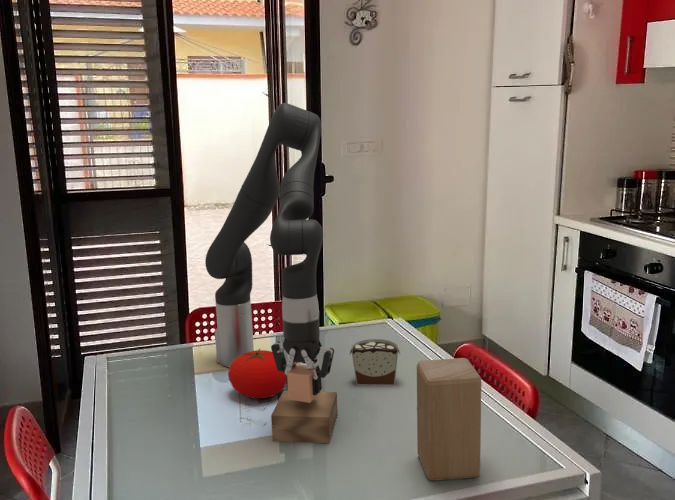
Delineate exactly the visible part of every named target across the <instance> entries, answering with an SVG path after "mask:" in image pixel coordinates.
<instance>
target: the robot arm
mask: <svg viewBox="0 0 675 500" xmlns="http://www.w3.org/2000/svg"><path fill="white" fill-rule="evenodd" d="M321 132H322V122H321V118H320V116H319V115H318V114H316V113H314V112H312V111H309V110H307V109H304V108H301V107H300V106H299V107H298V106H296V105H293V104H291V103H286V102H282V103H280V104H279V105H278V106H277V107H276V109H275V110H274V113H273V114H272V116H271V119H270V121H269V124H268V125H267V129H266V132H265V134H264V136H263V139H262V142H261V145H260V146H259V150H258V152H257V155H256V157H255V159H254V161H253V164H252V165H251V167H250V169H249V171H248V173H247V175H246V177H245V179H244V181H243V183H242V185H241V187H240V189H239V191H238V194H237V195H236V198H235V200H234V202H233V205H232V207H231V209H230V211H229V213H228V215H227V217H226V219H225V221H224V223H223V225H222V227H221V229H220V230H219V232H218V233H217V235H216V237H214V240H212V243H211V244H210V246H209V248H208V250H207V251H206V255H205V260H204V261H205V268H206V272H207V273H208V275H209V276H210V277H211V278H213V279H216V280H224V282H223V283H222V285H221V286H220V287H218V288H217V290H216V291H215V294H214V298H215V312H216V323H217V328H215V329H214V339H215V349H216V350H215V351H216V363H217V364H220V365H222V366H223V367H227V368H229V367H230V365H231V364H232V362H233V361H234V360H235V359H236V358H237V357H239V356H241V355H243V353H248V352H251V351H255V349H254V348H255V347H254V334H253V333H254V332H253V317H252V304H251V301H252V300H251V294H252V290H253V259H252V253H251V251H250V248H249V246H248V244H247V243H246V241H247V240H248V238H249V237H250V236H251V235H252V234H253V233H255V232H256V231H257V230H258V229H259V228H260V227H261V226H262V225H263V224H264V223H265V222H266V220H268V219H269V216H270V215H271V213H272V211H273V209H274V208H275V205H276V204H277V201H278V200H279V199H280V200H279V209H278V211H277V212H278V213H277V216H276V217H275V220H274V222H273V224H272V228H271V231H270V234H269V235H270V236H269V243H270V246H271V248H272V249H271V250H273V252H274V253H276V254H277V255H279V256H298V255H299V256H301V255H305V256H306V257H305V258H304V259H303V260H302V261H300V262H298V263H295V264H294V263H293V264H291V265H287V266H285V267H284V268H283V269H282V270H281V287H282V288H281V289H282V290H281V291H282V301H281V311H282V312H281V313H282V314H281V315H282V329H283V330H282V332H283V338H284V340H283V341H282V342H281V341H280V340H279V341H278V340H277V341H276V342H275V343H273V344H272V345H271V346H270V348H271V352H272V353H273V356H274V360H275V363H276V367H277V370H278V371H279V372H281V371H282V372H284V373H285V374H286V388H287V389H288V380H287V372H289V371H290V370H292V368H293V367H295V366H296V365H297V364H303V365H307V368H308V370H310V372H311V373H312V377H313V379H312V387H313V395H317V394H318V393H319V392H322V389H323V385H322V379H323V378H326V376H327V375H329V374H330V373H331V369H332V364H333V359H334V354H335V349H334V348H333V347H329V348H327V347H324V346H322V343H321V341H320V334H321V333H320V331H321V330H320V310H319V300H318V293H317V267H318V260H319V256H320V252H321V248H322V245H323V239H324V230H323V227H322V226H321V224H320V223H319V221H317V220H316V219H312V218H311V219H309V218H310V217H311V216H312V215H313V214H314V208H315V205H314V204H315V202H314V193H315V192H314V181H315V171H316V166H317V159H318V155H319V148H320V147H319V146H320V142H321V141H320V140H321V134H322V133H321ZM280 145H282V146H285V147H288V148H290V149H294V150H296V151H300V152H301V156H300V158H298V160H297V161H296V162H294V164H293V165H292V166H291V167H290V168H289V169H288V170H287V171H286V172H285V173H284V175H283V176H282V179H281V181H279V177H278V172H277V166H276V153H277V150H278V147H279V146H280ZM279 197H280V198H279ZM284 352H286V354H287V355H288V357H287V359H286V355H285V353H284ZM319 354H321V359H322V364H320V363H321V362H320V359H319V356H318V355H319Z"/></svg>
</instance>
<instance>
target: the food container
mask: <svg viewBox="0 0 675 500" xmlns="http://www.w3.org/2000/svg"><path fill="white" fill-rule="evenodd" d="M400 352H401V351H400V348H399V346H398V344H397V343H396V342H394V341H392V340H389V339H382V338H368V339H362V340H359V341H356V342H354V343H353V344H351V348H350V350H349V355H351V356H352V363H353V364H352V365H353V369H354V371H353V372H354V376H355V383H356V386H373V385H374V386H376V387H377V386H378V387H379V386H380V387H381V386H384V387H385V386H386V387H387V386H389V387H390V386H392V387H395V386H396V378H397V377H396V376H397V367H398V365H397V364H398V356H399V355H401V353H400ZM398 354H399V355H398Z"/></svg>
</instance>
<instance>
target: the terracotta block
mask: <svg viewBox="0 0 675 500" xmlns="http://www.w3.org/2000/svg"><path fill="white" fill-rule="evenodd" d="M312 379H313V377H312V373H311V372H310V370H308V368H307V365H306V364H303V363H297V364H296V366H295V367H293V368H292V370H290V371H289V372H287V380H288V388H287V391H288V398H289V400H295V401H302V402H308V403H310V402H311V401H312V400H313V399H314V398H315V397H316V396H317V395H318V394H319V393H320V392H321V391H320V392H319V393H318V394H317V395H313V387H312Z"/></svg>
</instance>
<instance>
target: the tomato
mask: <svg viewBox="0 0 675 500" xmlns="http://www.w3.org/2000/svg"><path fill="white" fill-rule="evenodd" d="M228 380H229V383H230V385H231V387H232V388H233V389H234V390H235V391H236V392H237V393H239V394H241V395H243V396H244V397H248V398H251V399H258V400H259V399H267V398H270V397H273V396H275V395H277V394H279V393H280V392H281V391H282V390H283V389H284V388H285V386H286V385H287V383H286V374H285V373H284V372H282V371H281V372H279V371H278V370H277V367H276V363H275V360H274V356H273V353H272V350H264V349H261V348H259V349H258V350H254V351H251V352H248V353H243V355H241V356H239V357H237V358H236V359H235V360H234V361H233V362H232V364H231V365H230V367H228Z"/></svg>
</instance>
